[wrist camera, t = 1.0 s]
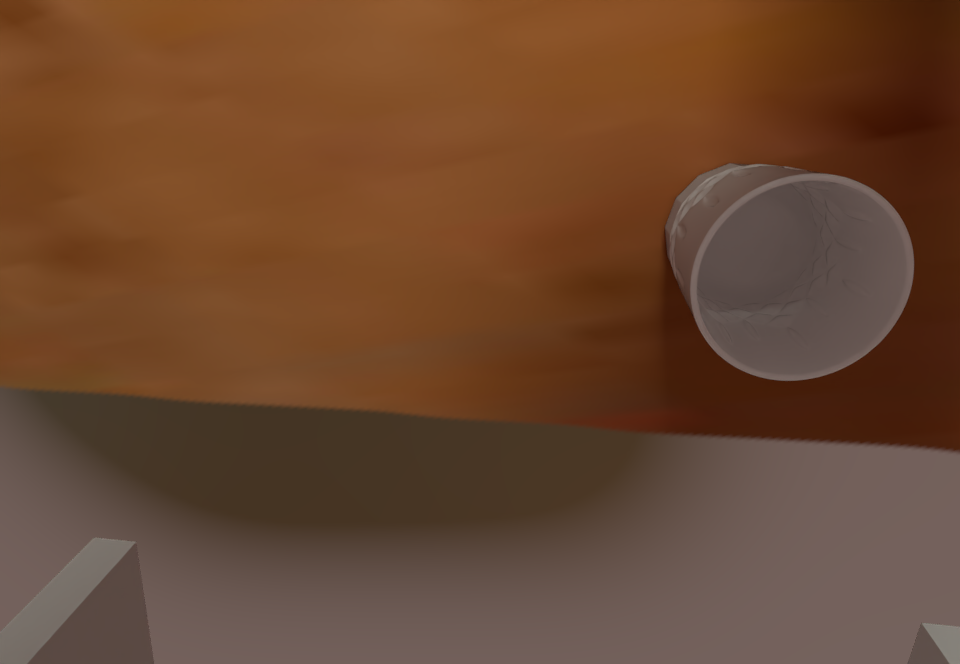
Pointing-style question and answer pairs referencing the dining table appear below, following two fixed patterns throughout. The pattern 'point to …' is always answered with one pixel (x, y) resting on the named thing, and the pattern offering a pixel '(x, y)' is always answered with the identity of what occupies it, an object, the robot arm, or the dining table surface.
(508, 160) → the dining table surface
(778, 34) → the dining table surface
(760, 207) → the white cup
